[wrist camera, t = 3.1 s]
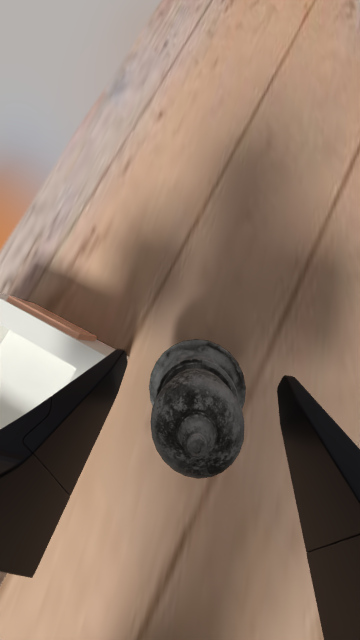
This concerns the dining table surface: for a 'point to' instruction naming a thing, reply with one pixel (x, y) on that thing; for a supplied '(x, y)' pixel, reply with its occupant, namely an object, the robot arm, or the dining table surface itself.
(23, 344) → the tagged holder
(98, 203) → the dining table surface
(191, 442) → the dark chess piece
